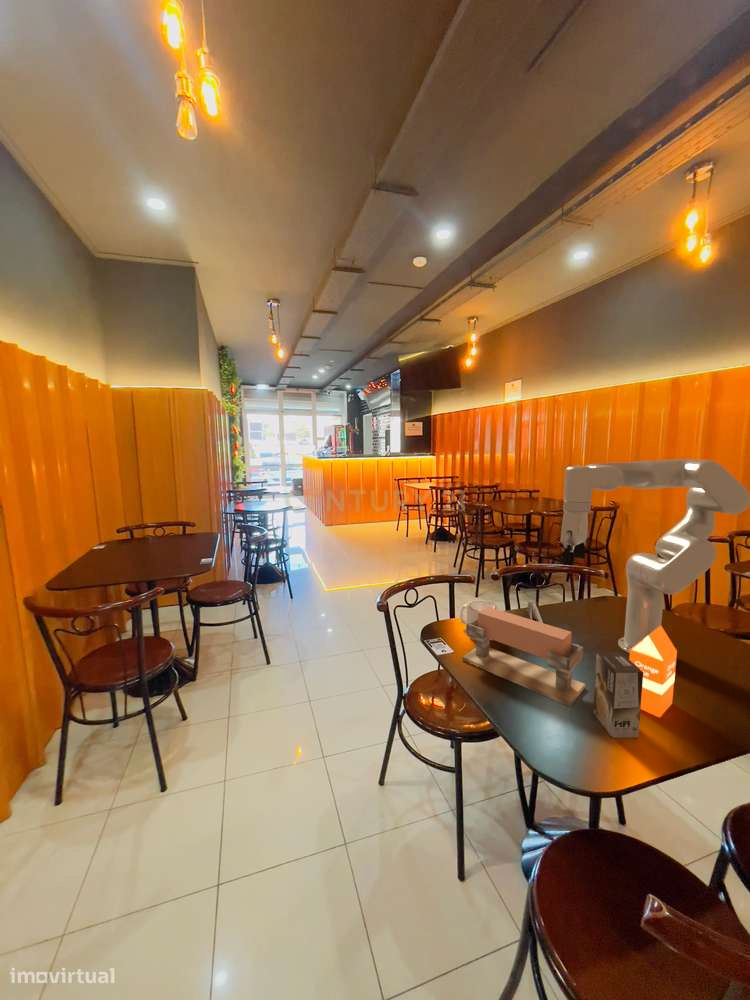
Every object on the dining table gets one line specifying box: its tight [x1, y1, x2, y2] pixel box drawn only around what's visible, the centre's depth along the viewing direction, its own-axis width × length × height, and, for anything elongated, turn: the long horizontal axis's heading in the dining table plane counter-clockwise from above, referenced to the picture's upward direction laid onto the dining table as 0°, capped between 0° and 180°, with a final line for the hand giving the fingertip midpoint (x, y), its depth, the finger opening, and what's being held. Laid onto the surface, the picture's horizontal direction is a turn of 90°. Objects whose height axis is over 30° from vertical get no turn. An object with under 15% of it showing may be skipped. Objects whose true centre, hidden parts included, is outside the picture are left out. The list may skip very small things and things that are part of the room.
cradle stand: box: [462, 618, 586, 707], centre depth 117 cm, size 32×11×12 cm, turn 45°
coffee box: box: [592, 651, 643, 739], centre depth 95 cm, size 9×6×16 cm
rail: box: [478, 607, 572, 660], centre depth 116 cm, size 25×6×7 cm, turn 45°
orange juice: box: [628, 625, 678, 718], centre depth 102 cm, size 8×9×20 cm
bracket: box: [526, 601, 544, 623], centre depth 145 cm, size 3×21×10 cm, turn 174°
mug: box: [459, 599, 498, 641], centre depth 142 cm, size 14×10×11 cm
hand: (573, 561), depth 125 cm, fingers open, 9 cm apart
